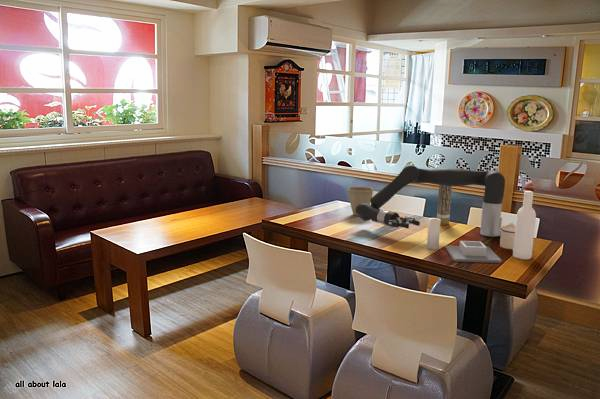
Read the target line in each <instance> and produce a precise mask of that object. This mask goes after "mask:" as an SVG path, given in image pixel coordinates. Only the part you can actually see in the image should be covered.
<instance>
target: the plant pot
mask: <svg viewBox="0 0 600 399" xmlns="http://www.w3.org/2000/svg"><path fill="white" fill-rule="evenodd" d="M347 191H348V198H349V203H350V207H351V212H352V215H353V216H355V217H359V216H358V215H357V213H356V211H355V209H356V206H357V205H359V204H361V203H365V204H368V205H371V202H370V199H371V198H372V197H373V193H374V189H373V188H372V187H367V186H350V187H348V189H347Z"/></svg>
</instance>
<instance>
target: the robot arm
mask: <svg viewBox="0 0 600 399" xmlns="http://www.w3.org/2000/svg"><path fill="white" fill-rule="evenodd" d="M410 184H432V185H438V186H439V185H445V186H452V187H465V186H482V187H484V194H483V199H482V207H481V209H482V210H481V219H480V220H481V221H480V230H479V233H480V235H482V236H485V237H501V228H502V221H503V218H502V207H503V198H504V197H505V196H504V195H505V194H504V193H505V188H506V178H505V176H504V175H503V174H502V173H501V172H500V171H498V170H470V169H462V168H451V167H444V168H442V167H441V168H432V169H429V168H428V169H426V168H421V167H420V168H419V167H417V166H415V165H414V164H413V165H411V164H409V165H406V166H405V167H403V168H402V170H401V171H400V172H399V174H398V175H396V177H395V178H394V179H392V181H390V182H388V184H386V185H385V187H383V188H382V189H380V190H379V191H378V192H376V194H374V195H372V198H371V199H370V205H368V204H365V203H361V204H359V205H357V206H356V209H355V211H356V213H357V215H358V216H357V217H359V218H360V219H361V220H362V221H364V222H368V221H370V220H371V221H372V222H374V223H379V224H381V225H384V226H388V227H390V228H403V229H409V228H410V225H414V226H421V221H420V220H416V218H415V217H410V216H400V214H399V213H398V212H395V211H390V210H385V209H380V208H382V207H383V206H384V205H385V204H386V203H387V202H389V201H390V200H391V199H392V198H393V197H394V196H395V195H396V194H397V193H398V192H400V191H401V190H402V189H404V188H405V187H406V186H407V185H410Z"/></svg>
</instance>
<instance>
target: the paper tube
mask: <svg viewBox="0 0 600 399" xmlns="http://www.w3.org/2000/svg"><path fill="white" fill-rule="evenodd" d="M452 189H453V186H445V185H438V197H437V213H436V218H438V219H440V220H441V221H440V226H441V225H443V226H446V225H449V224H450V217H451V215H450V214H451V206H452V205H451V203H452Z"/></svg>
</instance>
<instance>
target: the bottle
mask: <svg viewBox="0 0 600 399" xmlns="http://www.w3.org/2000/svg"><path fill="white" fill-rule="evenodd" d="M533 200H534V191H531V190H524V193H523V202H522V206H521V207H520V208H519V209H518V211H517V212H516V220H515V226H516V228H515V238H514V248H513V249H512V256H513V257H514V258H515V259H516V258H517V259H519V260H530V259H532V256H533V248H534V247H533V246H534V238H535V237H534V236H535V229H536V220H537V214H536V210H535V209H534V208H533Z"/></svg>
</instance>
